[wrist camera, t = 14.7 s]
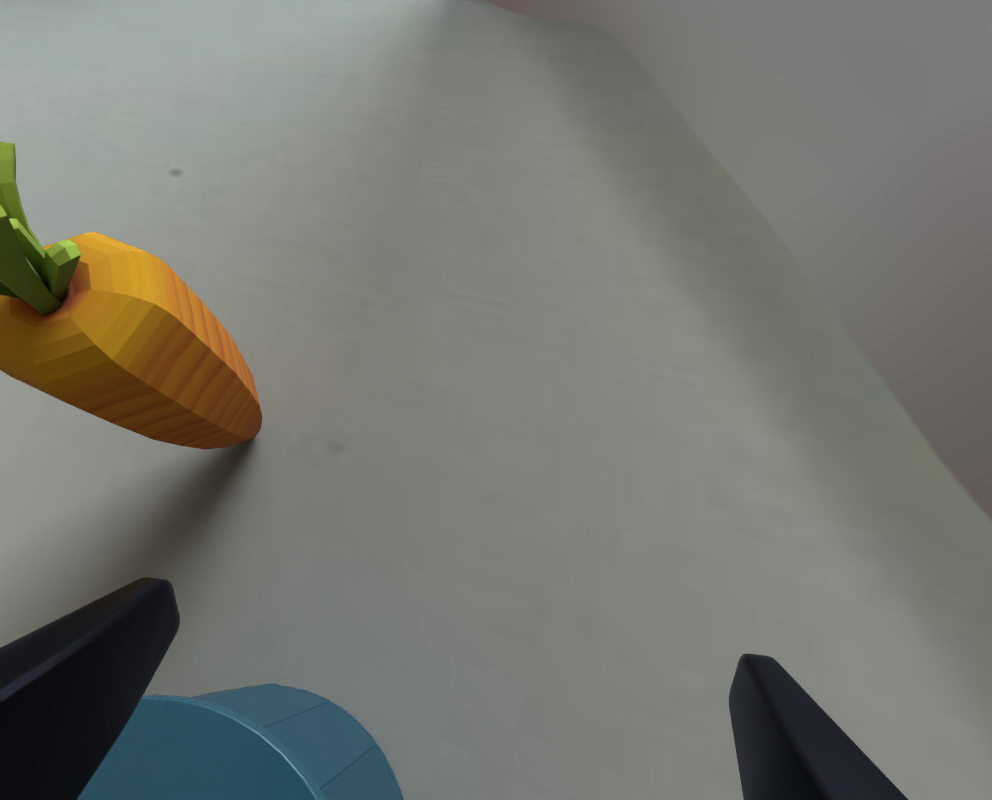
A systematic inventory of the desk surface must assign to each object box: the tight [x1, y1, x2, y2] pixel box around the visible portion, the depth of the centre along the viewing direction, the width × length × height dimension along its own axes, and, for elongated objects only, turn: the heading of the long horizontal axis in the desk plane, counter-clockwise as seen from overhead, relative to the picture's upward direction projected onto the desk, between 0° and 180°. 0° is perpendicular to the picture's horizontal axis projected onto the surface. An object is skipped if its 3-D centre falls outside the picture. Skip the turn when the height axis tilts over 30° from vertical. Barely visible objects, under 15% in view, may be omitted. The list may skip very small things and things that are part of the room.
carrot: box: [0, 142, 262, 449], centre depth 18 cm, size 5×5×15 cm
